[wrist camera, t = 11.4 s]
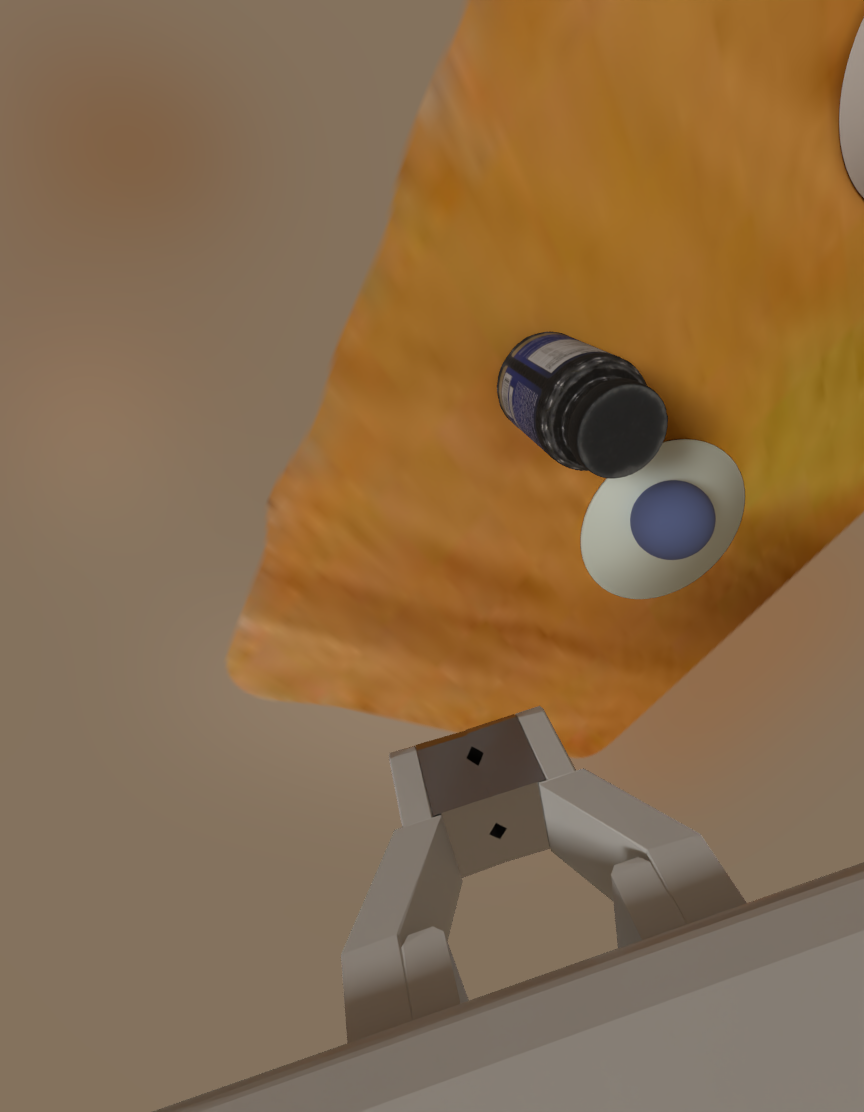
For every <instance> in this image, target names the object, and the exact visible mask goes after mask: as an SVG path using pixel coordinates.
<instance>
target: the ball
mask: <svg viewBox="0 0 864 1112" xmlns="http://www.w3.org/2000/svg"><path fill="white" fill-rule="evenodd" d="M715 522H716V516H715V510H714V507H713V504H712V502H711V500H710V499H709V497H708V496H707V495H706V494H705V493H704V492H703V491H702V490H701V489H700V488H698V487H697V486H695V485H693V484H691V483H688V482H685V481H679V480H668V481H663V482H659V483H657V484H654V485H652V486H650V487H649V488H647V489H646V490H645V491H644V492H643V493H642V494H641V495H640V496H639V497H638V498H637V500H636V501H635V503H634V505H633V508H632V511H631V516H630V526H631V531H632V534H633V537H634V538H635V540H636V542H637V543H638V545H639V546H640V547H641V548H642V549H643V550H644V551H646V552H647V553H649V554H650V555H652V556H655V557H657V558H660V559H665V560H679V559H684V558H687V557H689V556H692V555H694V554H696V553H697V552H699V551H700V550H701V549H702V548H703V547H704V546H705V545H706V544H707V543H708V541H709V540H710V538H711V537H712V534H713V532H714V528H715Z"/></svg>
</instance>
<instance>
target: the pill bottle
mask: <svg viewBox="0 0 864 1112" xmlns="http://www.w3.org/2000/svg"><path fill="white" fill-rule="evenodd" d="M497 393H498V398H499V403H500V407H501V409H502V410H503V412H504V414H505V415H506V417H507V418H508V419H509V420H510V421H511V422H512V423H513V424H514V425H516V426H517V427H518V428H519V429H520V430H522V431H523V432H524V433H525V434H526V435H527V436H528V437H529V438H531V439H532V440H533V441H534V442H535V443H536V444H537V445H538V446H540V447H541V448H542V449H543V450H544V451H545V452H546V453H547V454H549V455H550V457H552V458H553V459H554V460H556V461H557V462H558V463H560V464H562V465H563V466H566V467H568V468H572V469H575V470H580V471H582V470H585V471H590V472H592V473H594V474H595V475H597V476H600V477H604V478H610V479H613V478H614V479H615V478H621V477H626V476H628V475H631V474H633V473H635V472H637V471H639V470H641V469H642V468H643V467H645V466H646V465H647V464H648V463H649V462H650V461H651V460H652V459H653V458H654V456H655V455H656V454H657V452H658V451H659V449H660V447H661V445H662V443H663V441H664V438H665V435H666V431H667V422H668V419H667V418H668V416H667V413H666V408H665V405H664V403H663V401H662V400H661V398H660V397H659V395H658V394H657V393H656V392H655V391H654V390H652V389H651V388H649V387H648V386H647V385H646V382H645V380H644V379H643V377H642V375H641V374H640V373H639V371H638V370H637V369H636V368H635V367H634V366H633V365H632V364H631V363H630V362H628V361H626V360H624V359H622V358H620V357H618V356H615V355H612V354H610V353H608V352H605V351H603V350H600V349H598V348H596V347H593V346H591V345H588V344H586V343H583V342H581V341H579V340H576V339H574V338H571V337H569V336H567V335H565V334H562V333H556V332H543V333H538V334H535V335H531V336H529V337H527V338H525V339H523V340H522V341H521V342H520V343H518V344H517V345H516V346H515V347H514V348H513V349H512V351H511V352H510V354H509V355H508V356H507V358H506V359H505V361H504V362H503V364H502V367H501V369H500V372H499V376H498V383H497Z"/></svg>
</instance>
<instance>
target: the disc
mask: <svg viewBox="0 0 864 1112" xmlns="http://www.w3.org/2000/svg"><path fill="white" fill-rule="evenodd" d="M668 480H679V481H685V482H688V483H691V484H693V485H695V486H697V487H698V488H700V489H701V490H702V491H703V492H704V493H705V494H706V495H707V496H708V497H709V499H710V500H711V502H712V504H713V507H714V510H715V516H716V522H715V528H714V532H713V534H712V537H711V538H710V540H709V541H708V543H707V544H706V545H705V546H704V547H703V548H702V549H701V550H700V551H699V552H697V553H696V554H694V555H692V556H689V557H687V558H684V559H679V560H665V559H660V558H657V557H655V556H652V555H650V554H649V553H647V552H646V551H644V550H643V549H642V548H641V547H640V546H639V545H638V543H637V542H636V540H635V538H634V537H633V534H632V531H631V526H630V516H631V511H632V508H633V505H634V503H635V501H636V500H637V498H638V497H639V496H640V495H641V494H642V493H643V492H644V491H645V490H646V489H647V488H649V487H650V486H652V485H654V484H657V483H659V482H663V481H668ZM744 503H745V490H744V484H743V479H742V476H741V473H740V471H739V469H738V467H737V465H736V464H735V462H734V461H733V460H732V459H731V457H730V456H728V455H727V454H726V453H725V452H724V451H723V450H721V449H719V448H718V447H716V446H714V445H712V444H709V443H707V442H704V441H699V440H692V439H679V440H671V441H666V442H663V443H662V445H661V447H660V449H659V451H658V452H657V454H656V455H655V456H654V458H653V459H652V460H651V461H650V462H649V463H648V464H647V465H646V466H645V467H643V468H642V469H641V470H639V471H637V472H635V473H633V474H631V475H628V476H626V477H621V478H615V479H614V478H613V479H610V478H606V480H605V481H604V482H603V483H602V484H601V486H600V487H599V489H598V490H597V492H596V493H595V495H594V496H593V498H592V500H591V502H590V504H589V506H588V508H587V511H586V514H585V516H584V520H583V524H582V529H581V537H580V542H581V553H582V558H583V561H584V564H585V566H586V568H587V570H588V572H589V574H590V575H591V576H592V578H593V579H594V580H595V581H596V582H597V583H598V584H599V585H600V586H601V587H602V588H604V589H605V590H607V591H609V592H610V593H613V594H615V595H617V596H621V597H625V598H631V599H648V598H656V597H660V596H664V595H667V594H670V593H672V592H675V591H677V590H679V589H681V588H683V587H685V586H687V585H689V584H690V583H692V582H694V581H695V580H697V579H698V578H699V577H701V576H702V575H703V574H704V573H706V572H707V571H708V570H709V569H710V568H711V567H712V566H713V565H714V564H715V563H716V562H717V561H718V560H719V559H720V557H721V556H722V555H723V554H724V552H725V551H726V550H727V548H728V547H729V545H730V543H731V542H732V540H733V538H734V536H735V534H736V532H737V530H738V527H739V525H740V522H741V519H742V515H743V511H744Z"/></svg>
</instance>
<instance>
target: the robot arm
mask: <svg viewBox="0 0 864 1112" xmlns="http://www.w3.org/2000/svg"><path fill="white" fill-rule="evenodd" d="M839 129H840V142H841V149H842V154H843V158H844V162H845V165H846V169H847V171H848V174H849V176H850V178H851V180H852V182H853V184H854V186H855V187H856V189H857V190H858V192H859V193H860V194H861V195H862V197H863V198H864V18H863V21H862V23H861V25H860V28H859V30H858V33H857V35H856V38H855V41H854V44H853V47H852V49H851V52H850V56H849V60H848V63H847V67H846V71H845V75H844V81H843V86H842V92H841V100H840V114H839ZM389 761H390V766H391V771H392V776H393V782H394V787H395V792H396V797H397V802H398V807H399V812H400V818H401V822H402V828H399V829H396V830H394V833H393V835H392V837H391V840H390V842H389V844H388V847H387V849H386V851H385V854H384V856H383V858H382V861H381V863H380V865H379V868H378V870H377V872H376V875H375V877H374V879H373V882H372V884H371V887H370V889H369V891H368V893H367V896H366V898H365V900H364V902H363V905H362V907H361V909H360V912H359V914H358V917H357V919H356V921H355V923H354V926H353V928H352V930H351V933H350V935H349V937H348V940H347V942H346V944H345V947H344V949H343V951H342V954H341V961H342V974H343V988H344V1001H345V1013H346V1014H345V1016H346V1029H347V1041H348V1042H347V1044H344V1045H341V1046H338V1047H336V1048H333V1049H330V1050H327V1051H324V1052H322V1053H318V1054H316V1055H313V1056H310V1057H307V1058H304V1059H302V1060H298V1061H296V1062H293V1063H290V1064H287V1065H284V1066H281V1067H279V1068H276V1069H273V1070H270V1071H267V1072H264V1073H261V1074H259V1075H256V1076H253V1077H250V1078H248V1079H244V1080H241V1081H239V1082H236V1083H233V1084H230V1085H227V1086H224V1087H222V1088H219V1089H216V1090H213V1091H210V1092H207V1093H204V1094H201V1095H199V1096H196V1097H193V1098H190V1099H187V1100H185V1101H181V1102H179V1103H176V1104H173V1105H170V1106H167V1107H164V1108H162V1109H159V1110H156V1111H153V1112H864V862H863V863H860V864H858V865H855V866H852V867H849V868H846V869H843V870H840V871H838V872H835V873H832V874H829V875H826V876H824V877H820V878H818V879H815V880H812V881H809V882H806V883H803V884H800V885H798V886H795V887H792V888H789V889H786V890H783V891H780V892H778V893H775V894H772V895H769V896H766V897H763V898H760V899H758V900H755V901H752V902H749V903H746V901H745V900H744V898H743V897H742V895H741V894H740V892H739V891H738V889H737V888H736V886H735V885H734V883H733V882H732V880H731V879H730V877H729V876H728V874H727V873H726V871H725V870H724V868H723V867H722V865H721V864H720V862H719V861H718V860H717V858H716V856H715V855H714V853H713V852H712V851H711V849H710V848H709V846H708V845H707V843H706V842H705V840H704V839H703V837H702V836H701V834H699V833H698V832H696V831H694V830H692V829H690V828H689V827H687V826H685V825H683V824H682V823H680V822H678V821H676V820H675V819H673V818H671V817H669V816H667V815H666V814H664V813H662V812H660V811H659V810H657V809H655V808H653V807H651V806H650V805H648V804H646V803H644V802H643V801H641V800H639V799H637V798H636V797H634V796H632V795H630V794H628V793H626V792H625V791H623V790H621V789H619V788H618V787H616V786H614V785H612V784H611V783H609V782H607V781H605V780H604V779H602V778H600V777H598V776H596V775H595V774H593V773H591V772H589V771H588V770H586V769H584V768H583V769H580V770H576V769H575V768H574V766H573V764H572V762H571V760H570V758H569V756H568V754H567V752H566V750H565V749H564V747H563V745H562V743H561V741H560V739H559V737H558V735H557V734H556V732H555V730H554V728H553V726H552V724H551V722H550V720H549V718H548V717H547V715H546V713H545V711H544V709H543V708H542V707H540V706H538V707H535V708H532V709H529V710H526V711H523V712H519V713H516V714H515V715H514V714H513V715H510V716H507V717H504V718H501V719H498V720H494V721H491V722H488V723H485V724H482V725H479V726H476V727H473V728H470V729H467V730H465V731H463V732H459V733H456V734H452V735H449V736H445V737H442V738H439V739H435V740H432V741H428V742H424V743H421V744H418V745H416V746H412V747H409V748H406V749H402V750H398V751H395V752H392V753H390V754H389ZM550 848H551V851H552V852H553V853H554V854H556V855H557V856H558V857H559V858H560V859H562V860H563V861H564V862H565V863H567V864H568V865H569V866H570V867H572V868H573V869H574V870H575V871H577V872H578V873H579V874H580V875H581V876H583V877H584V878H585V879H586V880H587V881H589V882H590V883H591V884H592V885H594V886H595V887H596V888H597V889H599V890H600V891H601V892H602V893H603V894H605V895H606V896H607V897H608V898H610V899H611V900H612V901H613V902H614V911H615V922H616V932H617V943H618V949H615V950H612V951H609V952H606V953H603V954H601V955H598V956H595V957H592V958H589V959H587V960H583V961H581V962H578V963H575V964H572V965H569V966H566V967H564V968H561V969H558V970H555V971H552V972H549V973H547V974H544V975H541V976H538V977H535V978H532V979H529V980H527V981H524V982H521V983H518V984H515V985H513V986H509V987H507V988H504V989H501V990H498V991H495V992H492V993H490V994H487V995H484V996H481V997H478V998H475V999H473V1000H470V1001H469V1000H468V997H467V994H466V991H465V989H464V986H463V983H462V980H461V978H460V975H459V972H458V969H457V967H456V964H455V961H454V959H453V956H452V953H451V950H450V948H449V945H448V942H447V941H448V937H449V933H450V929H451V925H452V921H453V917H454V913H455V909H456V905H457V901H458V897H459V893H460V889H461V885H462V878H463V877H466V876H469V875H472V874H474V873H477V872H480V871H482V870H485V869H488V868H490V867H493V866H496V865H499V864H502V863H504V862H505V861H506V862H507V861H510V860H514V859H517V858H520V857H523V856H527V855H530V854H534V853H537V852H540V851H544V850H547V849H550Z"/></svg>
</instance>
